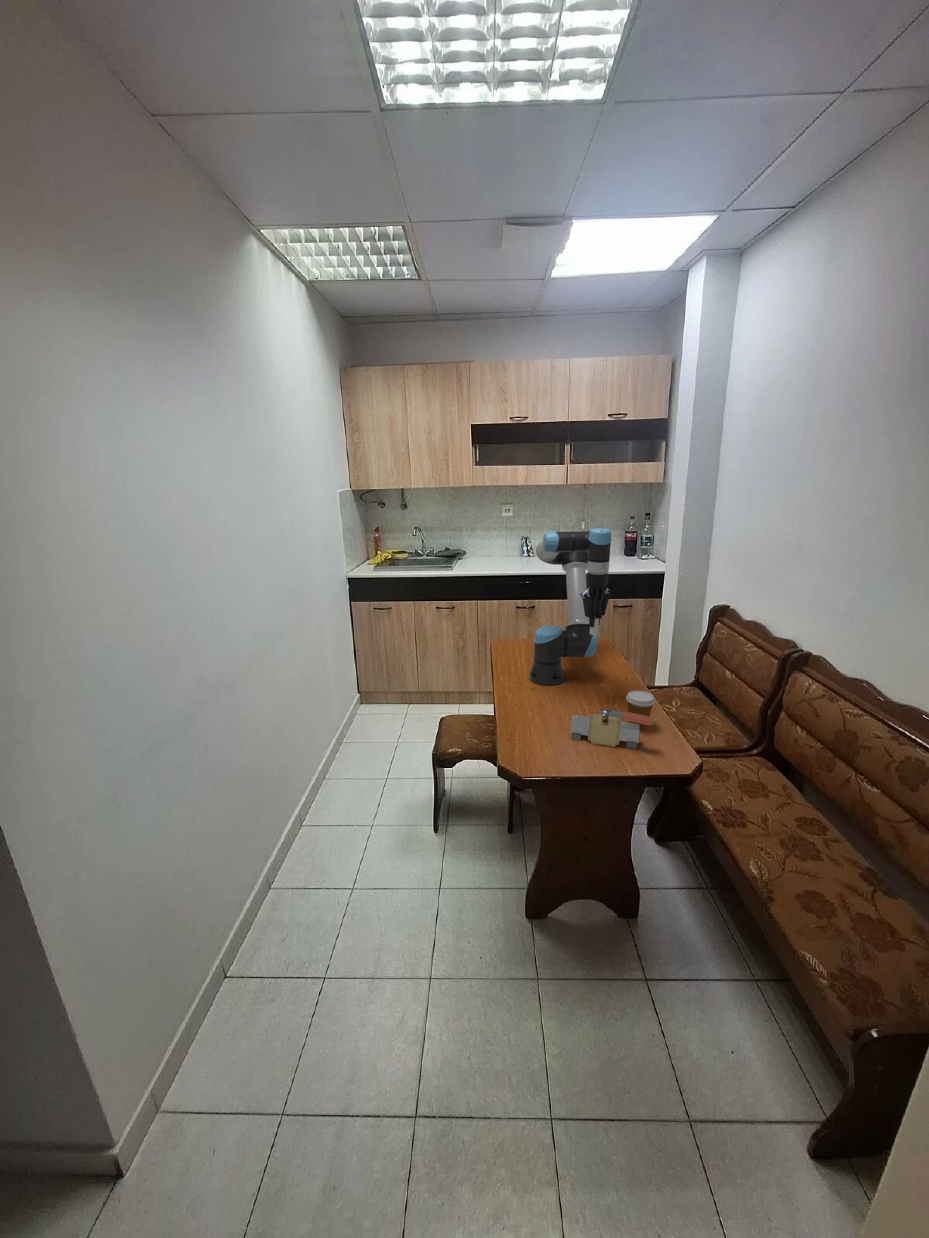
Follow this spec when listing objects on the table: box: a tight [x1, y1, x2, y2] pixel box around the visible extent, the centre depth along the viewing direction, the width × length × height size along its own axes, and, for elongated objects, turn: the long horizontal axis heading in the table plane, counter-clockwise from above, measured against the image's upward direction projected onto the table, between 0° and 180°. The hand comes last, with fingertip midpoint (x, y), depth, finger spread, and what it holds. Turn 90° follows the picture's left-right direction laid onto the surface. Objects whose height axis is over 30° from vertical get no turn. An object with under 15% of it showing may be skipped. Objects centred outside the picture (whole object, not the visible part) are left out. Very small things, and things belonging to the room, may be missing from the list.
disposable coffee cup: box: [625, 689, 656, 731], centre depth 172 cm, size 10×10×12 cm
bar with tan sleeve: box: [570, 712, 640, 750], centre depth 165 cm, size 22×7×10 cm, turn 71°
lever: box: [599, 707, 655, 726], centre depth 160 cm, size 17×4×2 cm, turn 62°
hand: (593, 634), depth 181 cm, fingers closed
